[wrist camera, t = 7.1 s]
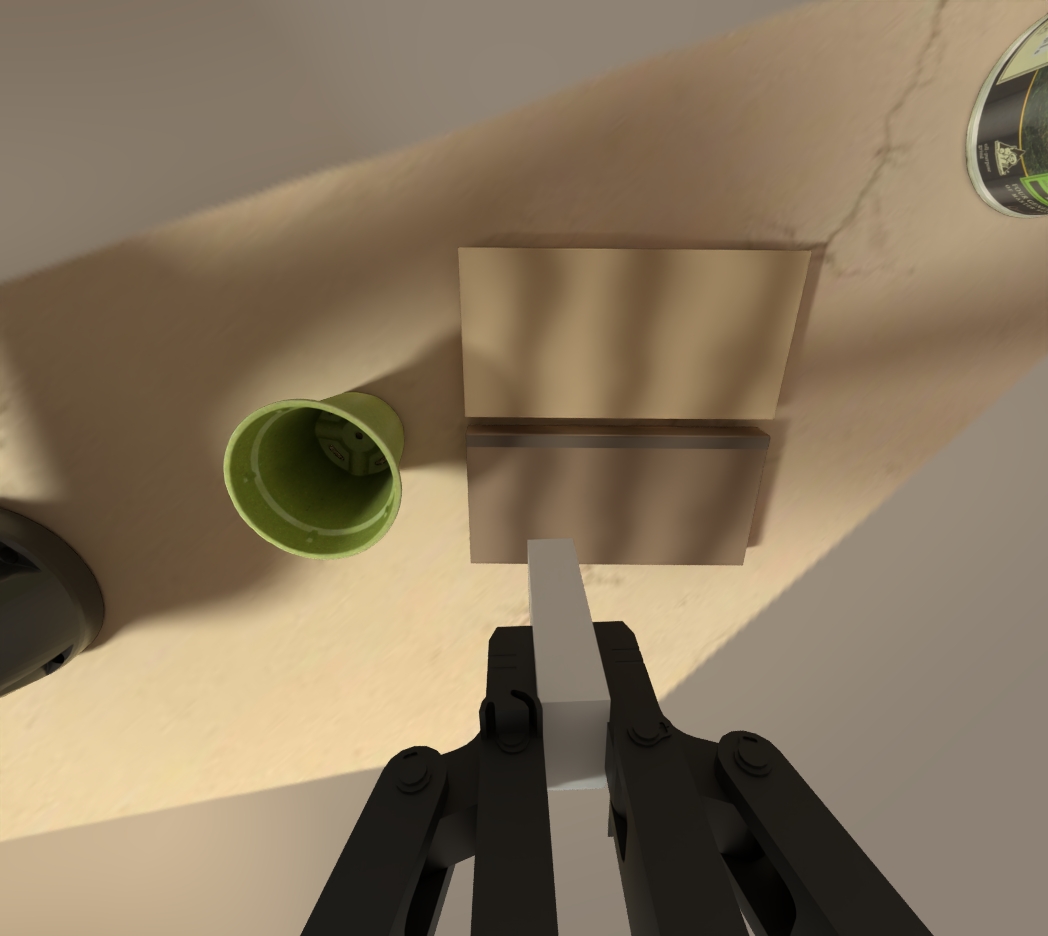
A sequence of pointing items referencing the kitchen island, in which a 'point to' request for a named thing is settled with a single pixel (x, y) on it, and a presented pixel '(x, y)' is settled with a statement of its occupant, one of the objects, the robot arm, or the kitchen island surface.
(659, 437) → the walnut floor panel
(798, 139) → the kitchen island surface
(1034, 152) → the coffee can
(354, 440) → the plant pot
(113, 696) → the kitchen island surface
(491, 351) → the oak plank
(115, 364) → the kitchen island surface
